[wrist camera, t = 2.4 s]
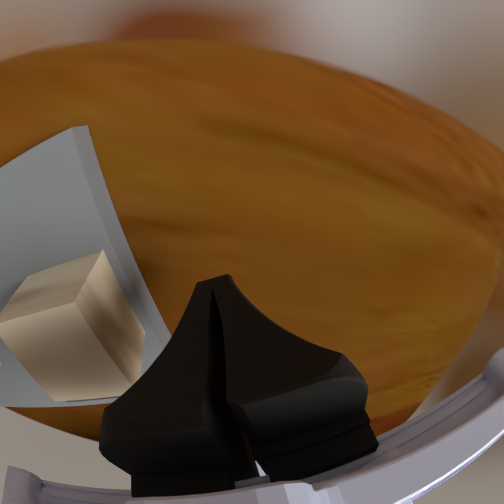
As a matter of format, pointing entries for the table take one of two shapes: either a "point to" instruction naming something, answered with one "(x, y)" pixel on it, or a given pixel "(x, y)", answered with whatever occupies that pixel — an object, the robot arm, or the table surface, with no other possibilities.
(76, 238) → the board
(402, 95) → the table surface
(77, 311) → the beech block
